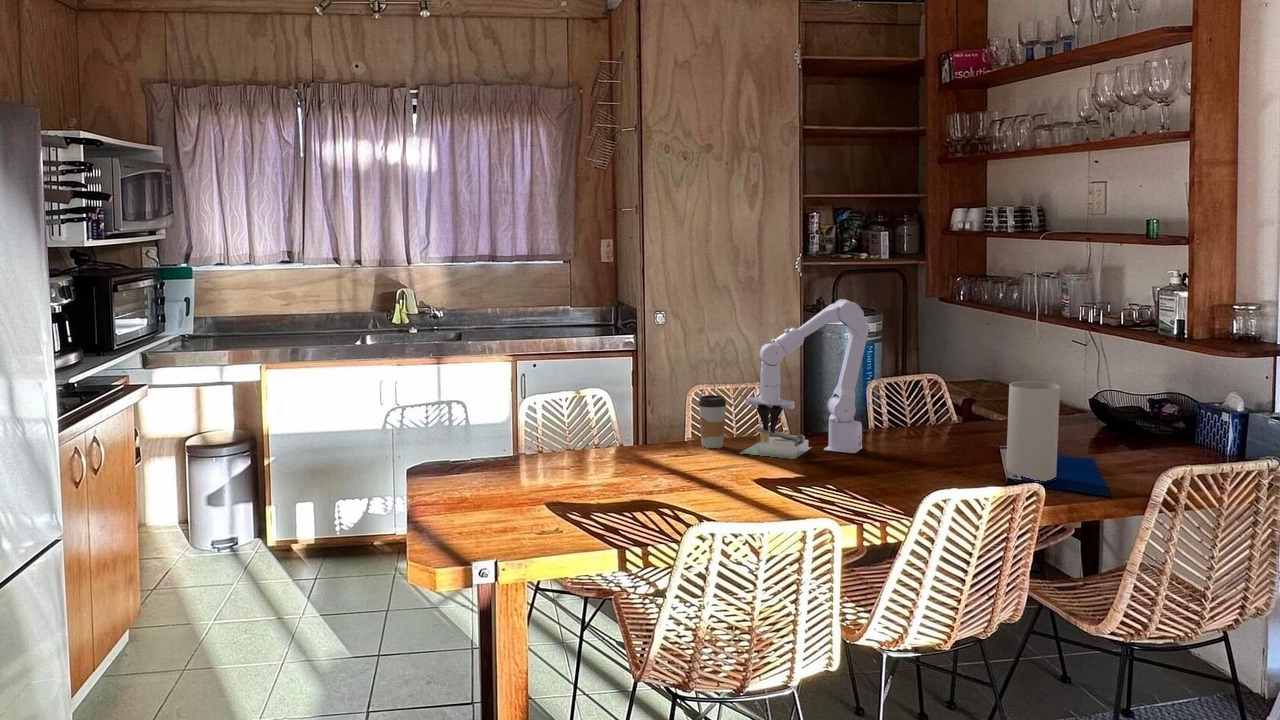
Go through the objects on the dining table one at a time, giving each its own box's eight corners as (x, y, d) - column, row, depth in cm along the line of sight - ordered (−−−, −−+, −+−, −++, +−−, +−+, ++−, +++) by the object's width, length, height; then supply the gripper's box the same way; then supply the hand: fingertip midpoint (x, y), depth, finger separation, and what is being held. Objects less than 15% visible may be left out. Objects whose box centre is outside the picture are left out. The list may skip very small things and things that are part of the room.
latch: (769, 444, 348) (769, 426, 347) (762, 448, 343) (762, 430, 343) (761, 444, 349) (761, 426, 348) (755, 447, 344) (755, 429, 344)
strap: (801, 441, 338) (801, 437, 337) (797, 443, 335) (798, 439, 335) (758, 429, 343) (758, 425, 343) (754, 430, 341) (755, 427, 340)
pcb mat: (812, 448, 344) (812, 447, 344) (794, 459, 330) (794, 458, 330) (758, 443, 352) (758, 442, 352) (738, 454, 338) (739, 453, 338)
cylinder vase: (1023, 486, 298) (1027, 390, 295) (996, 475, 310) (999, 382, 306) (1065, 482, 301) (1070, 387, 298) (1037, 471, 313) (1041, 380, 310)
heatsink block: (808, 450, 341) (808, 433, 340) (796, 457, 332) (797, 440, 331) (769, 446, 346) (769, 429, 345) (757, 453, 337) (757, 436, 337)
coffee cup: (693, 445, 350) (693, 396, 348) (717, 442, 354) (717, 394, 351) (706, 450, 343) (706, 400, 340) (731, 447, 346) (731, 398, 344)
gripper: (741, 385, 338) (741, 430, 340) (789, 389, 331) (788, 435, 333) (750, 381, 344) (750, 426, 346) (797, 385, 338) (796, 431, 340)
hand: (769, 430), depth 340 cm, fingers closed, pressing on strap
